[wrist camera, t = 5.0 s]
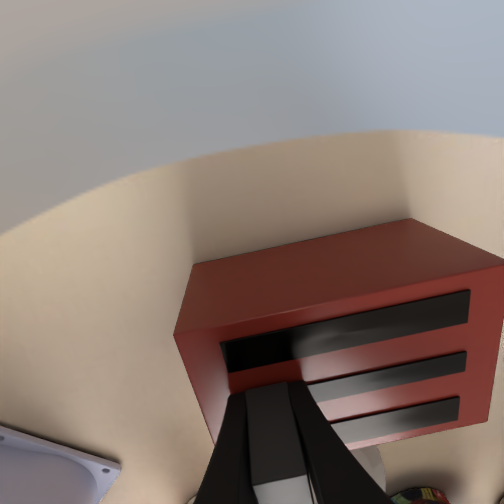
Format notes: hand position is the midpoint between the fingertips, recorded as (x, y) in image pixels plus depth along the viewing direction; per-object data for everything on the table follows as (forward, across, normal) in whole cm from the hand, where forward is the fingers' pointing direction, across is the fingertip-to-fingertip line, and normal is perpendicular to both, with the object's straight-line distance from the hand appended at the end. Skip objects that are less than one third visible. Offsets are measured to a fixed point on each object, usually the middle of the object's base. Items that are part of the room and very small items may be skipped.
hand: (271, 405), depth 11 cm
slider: (0, 0, 0) cm, 0 cm away
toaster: (+6, -3, 0) cm, 7 cm away
